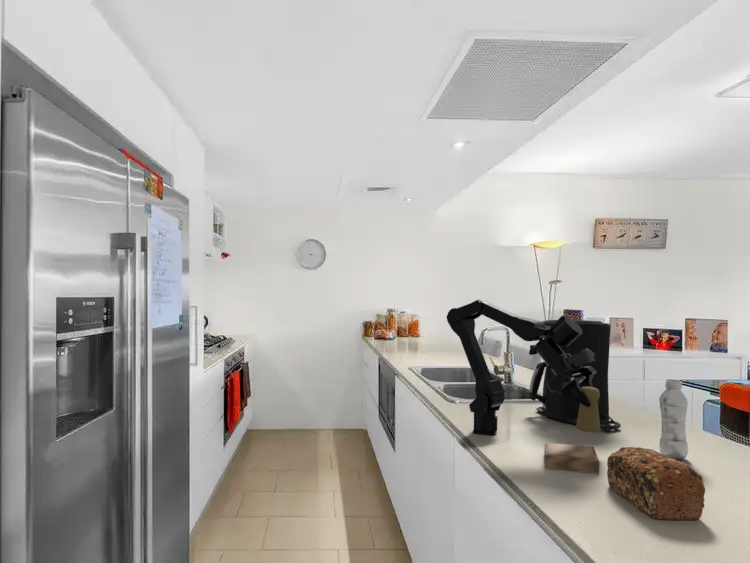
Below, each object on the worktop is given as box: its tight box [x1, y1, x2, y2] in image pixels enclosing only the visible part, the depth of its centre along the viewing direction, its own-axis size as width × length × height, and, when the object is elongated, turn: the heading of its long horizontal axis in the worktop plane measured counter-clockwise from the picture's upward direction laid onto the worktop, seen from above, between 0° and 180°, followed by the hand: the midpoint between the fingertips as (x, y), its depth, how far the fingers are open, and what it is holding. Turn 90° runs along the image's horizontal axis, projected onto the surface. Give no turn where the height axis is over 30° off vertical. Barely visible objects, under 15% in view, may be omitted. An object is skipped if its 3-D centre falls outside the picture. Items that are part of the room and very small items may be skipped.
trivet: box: [543, 442, 600, 474], centre depth 135 cm, size 12×12×3 cm
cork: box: [575, 387, 602, 433], centre depth 142 cm, size 6×6×11 cm
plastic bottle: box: [658, 378, 689, 460], centre depth 141 cm, size 6×7×20 cm
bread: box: [606, 446, 706, 521], centre depth 110 cm, size 19×11×10 cm, turn 2°
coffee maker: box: [528, 319, 622, 433], centre depth 185 cm, size 23×32×34 cm
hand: (593, 404), depth 141 cm, fingers closed on cork, 5 cm apart
